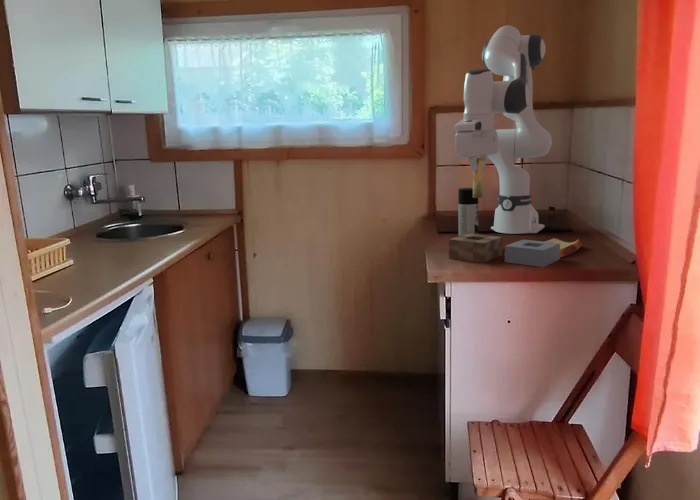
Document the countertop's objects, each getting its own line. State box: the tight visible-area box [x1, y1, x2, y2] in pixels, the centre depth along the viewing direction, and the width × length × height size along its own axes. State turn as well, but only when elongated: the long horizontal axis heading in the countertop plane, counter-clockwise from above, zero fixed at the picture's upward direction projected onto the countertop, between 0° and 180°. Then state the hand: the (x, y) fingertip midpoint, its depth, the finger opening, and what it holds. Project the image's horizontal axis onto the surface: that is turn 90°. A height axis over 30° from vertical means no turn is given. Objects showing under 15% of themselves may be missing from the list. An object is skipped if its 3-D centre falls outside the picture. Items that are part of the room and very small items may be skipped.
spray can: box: [457, 187, 479, 237], centre depth 197 cm, size 7×7×20 cm
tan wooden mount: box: [448, 233, 503, 263], centre depth 182 cm, size 12×12×6 cm
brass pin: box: [472, 157, 484, 199], centre depth 177 cm, size 3×3×12 cm
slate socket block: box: [504, 239, 561, 268], centre depth 174 cm, size 12×12×5 cm
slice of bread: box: [543, 238, 582, 258], centre depth 186 cm, size 18×18×4 cm
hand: (477, 170), depth 177 cm, fingers closed on brass pin, 3 cm apart
